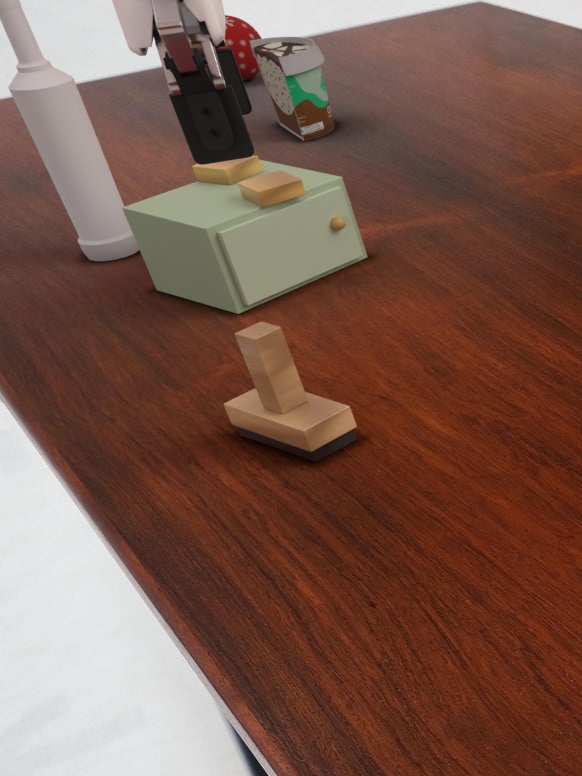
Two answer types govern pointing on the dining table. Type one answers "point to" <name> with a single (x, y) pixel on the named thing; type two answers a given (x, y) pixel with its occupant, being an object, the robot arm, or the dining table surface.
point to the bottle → (67, 144)
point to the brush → (285, 401)
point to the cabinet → (245, 239)
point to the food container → (295, 84)
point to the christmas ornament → (241, 45)
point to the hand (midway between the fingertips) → (226, 136)
